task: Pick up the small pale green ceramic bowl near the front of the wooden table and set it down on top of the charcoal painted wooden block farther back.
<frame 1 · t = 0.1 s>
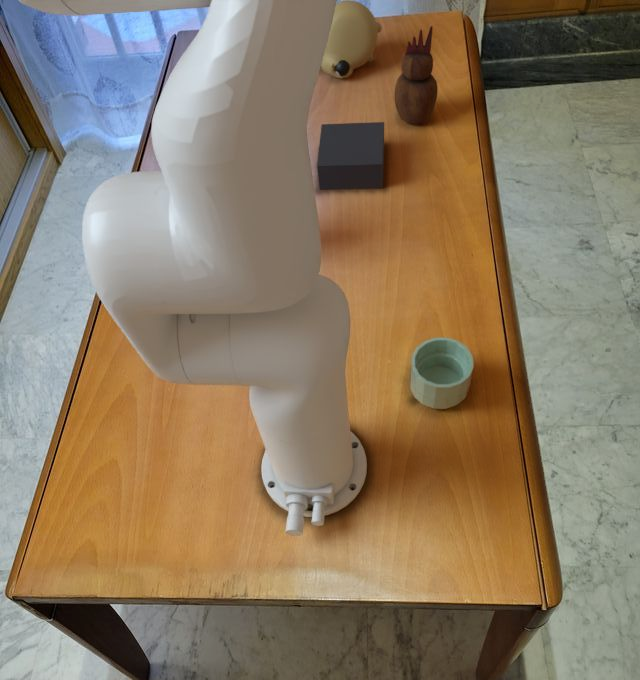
beverage cup: (267, 251, 95), on the table
bowl: (439, 386, 80), on the table
block: (352, 167, 102), on the table
wooden figurine: (414, 119, 107), on the table
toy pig: (348, 66, 116), on the table
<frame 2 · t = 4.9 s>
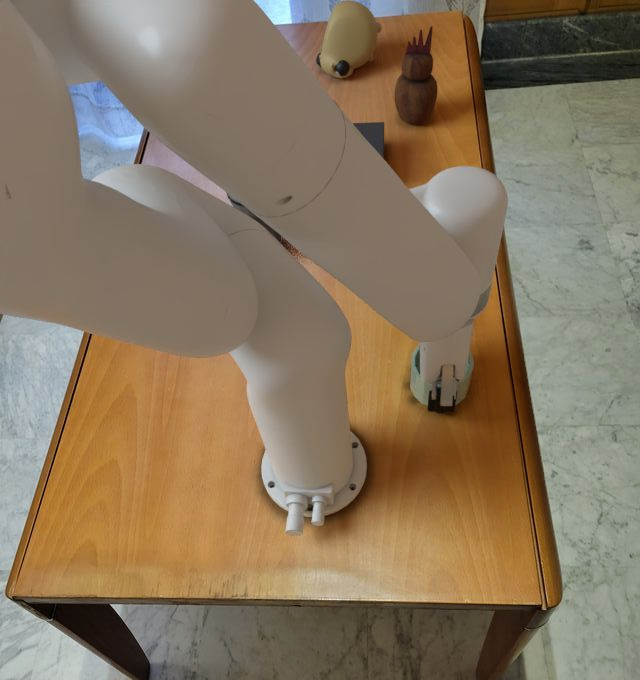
hand: (440, 381, 80), 1 cm above the table, tool pointing down, fingers closed on bowl, 7 cm apart
bowl: (438, 386, 80), on the table, touching gripper
everything else where it was.
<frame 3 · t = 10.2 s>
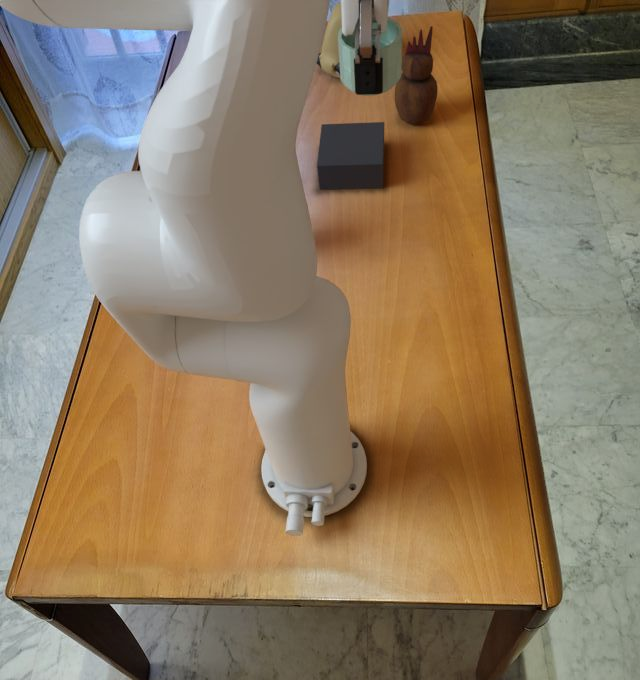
hand: (370, 71, 76), 23 cm above the table, tool pointing down, fingers closed on bowl, 7 cm apart
bowl: (371, 79, 77), point 22 cm above the table, touching gripper
everything else where it was.
when the fingers open (6 cm above the table, at t = 15.8 s): bowl stays where it is, resting on block.
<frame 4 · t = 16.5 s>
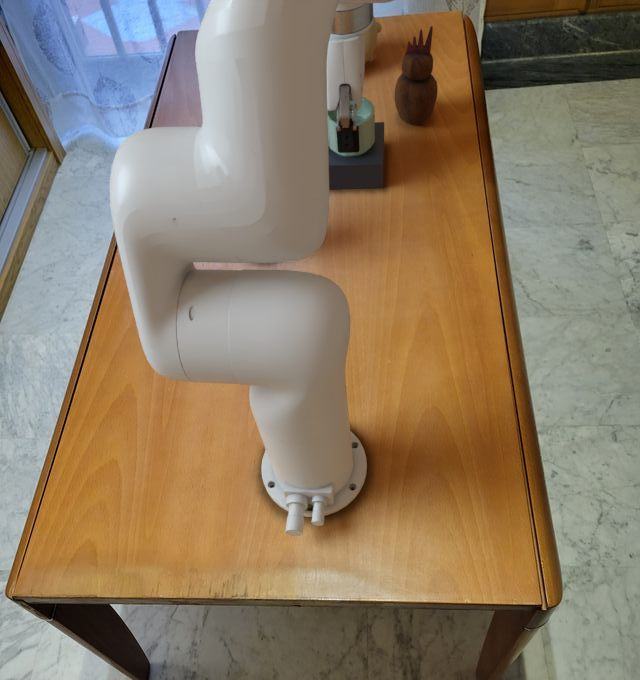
hand: (350, 130, 96), 7 cm above the table, tool pointing down, fingers open, 9 cm apart
bowl: (351, 143, 99), point 4 cm above the table, touching block
everything else where it was.
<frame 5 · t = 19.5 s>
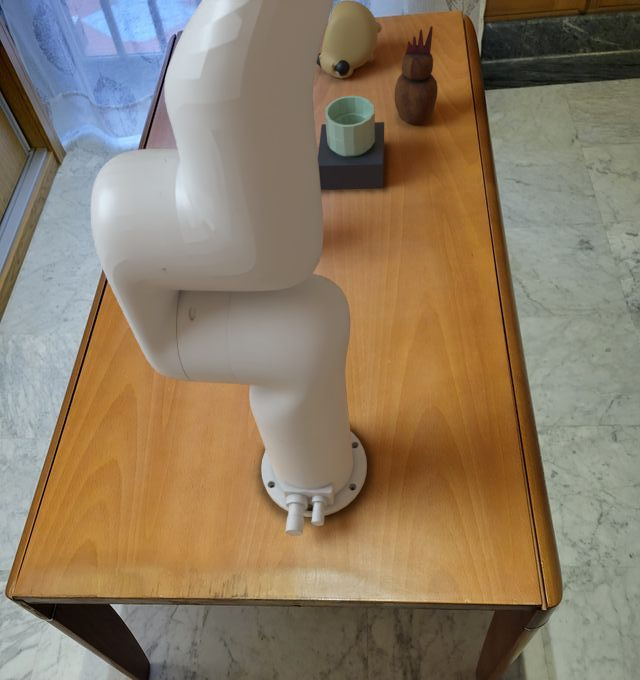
nothing on the table moved.
at the end: bowl 0.0 cm off-centre on the block, point 4.5 cm above the block's base; bowl tilted 0°; the gripper is holding nothing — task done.
